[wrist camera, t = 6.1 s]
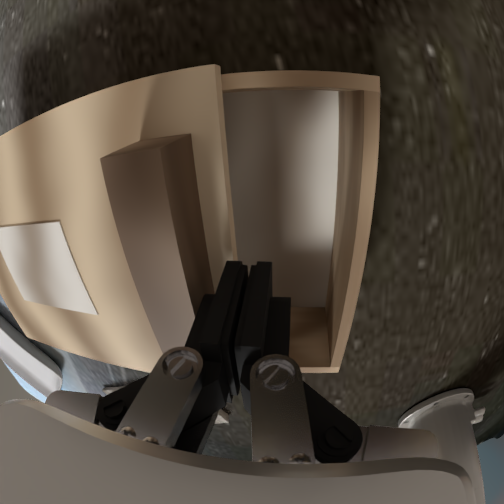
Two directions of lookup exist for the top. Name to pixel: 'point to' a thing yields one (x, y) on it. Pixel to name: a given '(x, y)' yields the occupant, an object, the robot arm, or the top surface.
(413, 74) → the top surface
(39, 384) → the salad plate
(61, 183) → the lid
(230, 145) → the mailer box
